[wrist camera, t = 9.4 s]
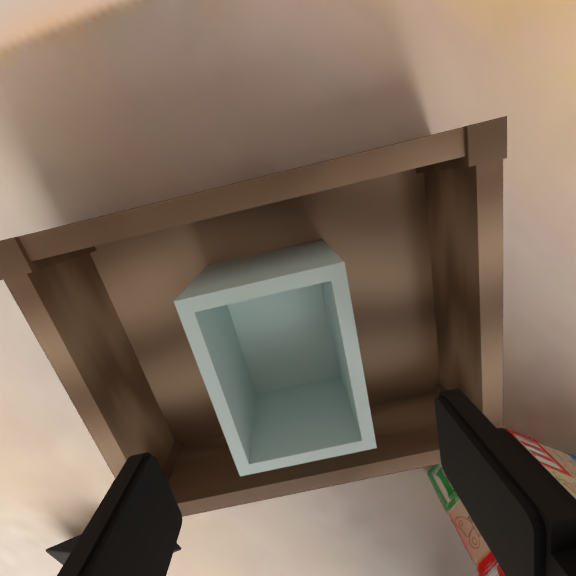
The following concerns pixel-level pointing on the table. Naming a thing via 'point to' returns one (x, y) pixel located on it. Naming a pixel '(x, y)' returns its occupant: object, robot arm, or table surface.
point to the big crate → (262, 238)
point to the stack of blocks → (562, 466)
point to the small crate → (280, 356)
